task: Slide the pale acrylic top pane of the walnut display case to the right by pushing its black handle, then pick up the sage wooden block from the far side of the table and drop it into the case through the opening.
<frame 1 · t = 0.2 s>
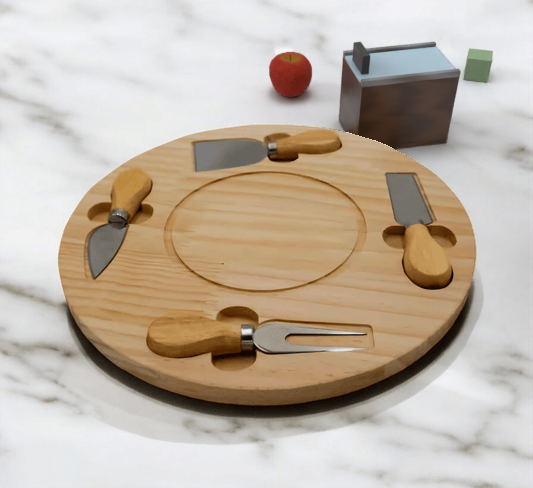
case: (391, 131, 111), on the worktop
block: (475, 75, 125), on the worktop
pane: (401, 55, 102), point 14 cm above the worktop, slide at 0.0 cm
apple: (290, 94, 121), on the worktop
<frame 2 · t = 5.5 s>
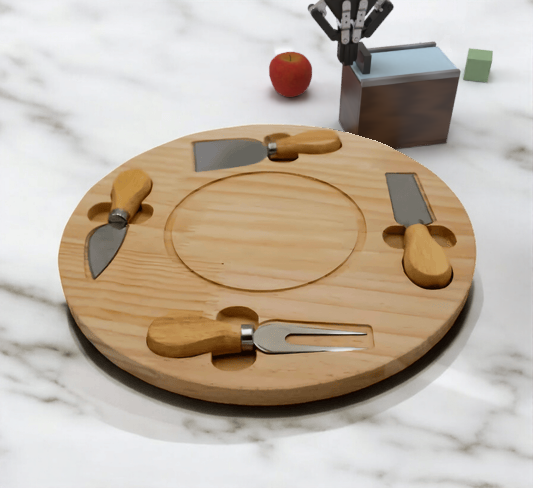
hand: (346, 63, 101), 13 cm above the worktop, tool pointing down, fingers closed
pane: (402, 55, 102), point 14 cm above the worktop, slide at 0.2 cm, touching gripper
everything else where it was.
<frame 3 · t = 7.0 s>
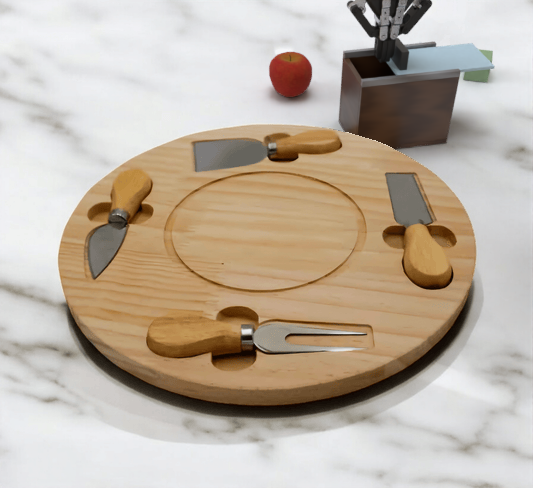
hand: (383, 59, 102), 13 cm above the worktop, tool pointing down, fingers closed
pane: (438, 51, 102), point 14 cm above the worktop, slide at 6.1 cm, touching gripper
everything else where it was.
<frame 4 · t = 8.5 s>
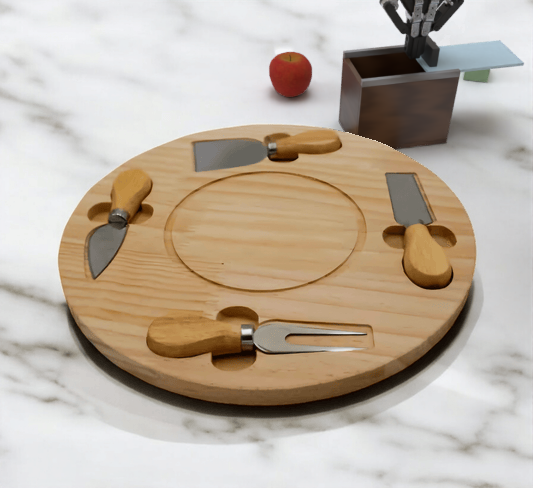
hand: (413, 56, 102), 13 cm above the worktop, tool pointing down, fingers closed
pane: (467, 48, 103), point 14 cm above the worktop, slide at 11.0 cm, touching gripper
everything else where it was.
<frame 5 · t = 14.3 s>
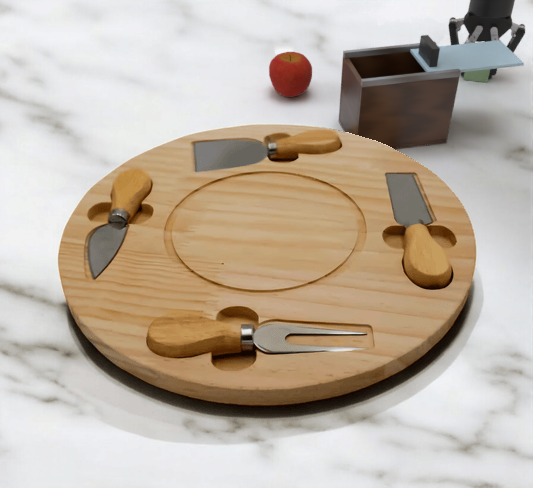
hand: (476, 74, 125), 0 cm above the worktop, tool pointing down, fingers closed on block, 4 cm apart
block: (475, 75, 125), on the worktop, touching gripper
pane: (467, 48, 103), point 14 cm above the worktop, slide at 11.0 cm
everything else where it was.
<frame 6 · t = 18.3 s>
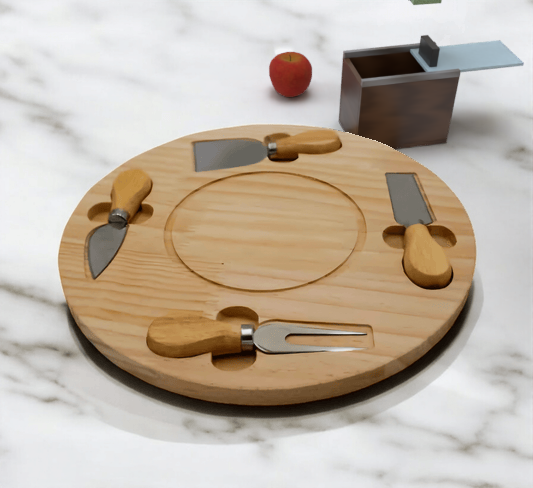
when the fingers open (10 cm above the worktop, at t = 22.2 s): block drops 8 cm, resting on case.
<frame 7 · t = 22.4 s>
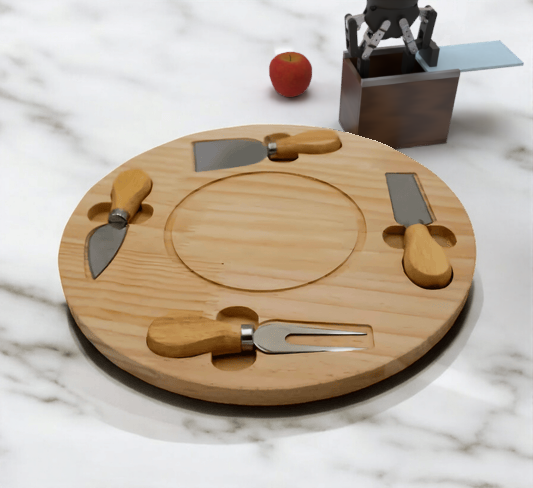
hand: (384, 75, 104), 11 cm above the worktop, tool pointing down, fingers open, 6 cm apart
block: (371, 122, 110), point 2 cm above the worktop, tilted 19°, touching case
everything else where it was.
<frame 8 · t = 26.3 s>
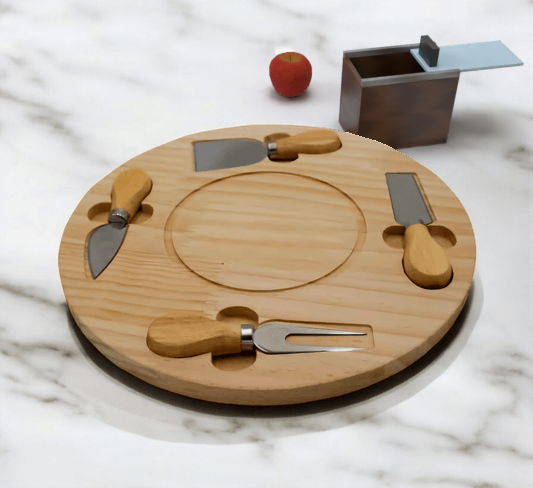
block: (371, 127, 110), point 1 cm above the worktop, touching case
everything else where it was.
at the end: pane slide at 11.0 cm; block inside the target area on the case (3.4 cm from its centre), point 0.8 cm above the case's base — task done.
